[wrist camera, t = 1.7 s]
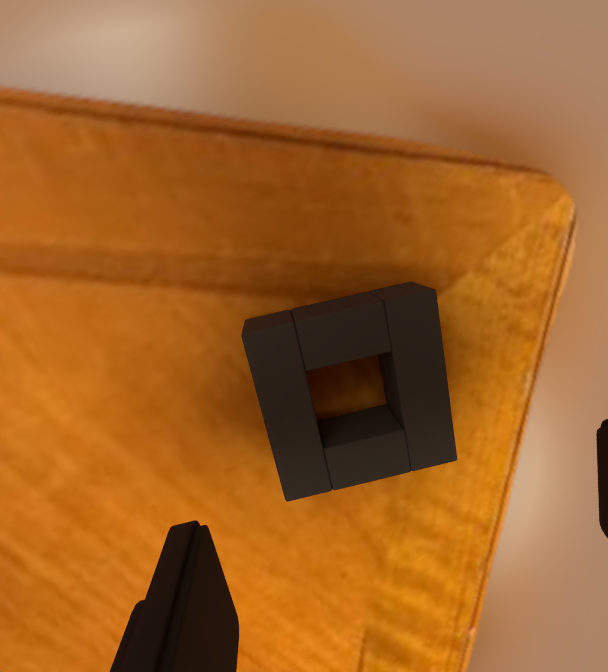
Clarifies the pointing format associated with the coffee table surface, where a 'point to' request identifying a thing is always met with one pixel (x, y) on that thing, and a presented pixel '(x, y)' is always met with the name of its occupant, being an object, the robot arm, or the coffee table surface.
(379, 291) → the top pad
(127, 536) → the coffee table surface
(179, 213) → the coffee table surface
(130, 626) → the robot arm
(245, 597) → the coffee table surface
